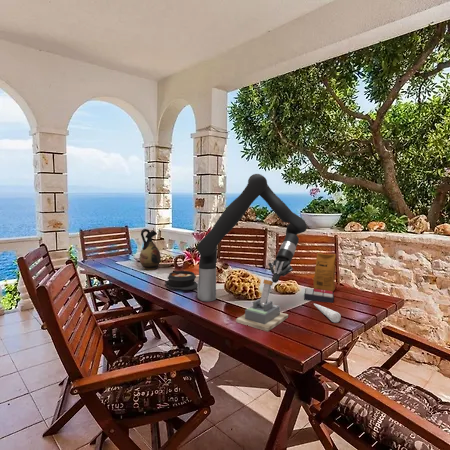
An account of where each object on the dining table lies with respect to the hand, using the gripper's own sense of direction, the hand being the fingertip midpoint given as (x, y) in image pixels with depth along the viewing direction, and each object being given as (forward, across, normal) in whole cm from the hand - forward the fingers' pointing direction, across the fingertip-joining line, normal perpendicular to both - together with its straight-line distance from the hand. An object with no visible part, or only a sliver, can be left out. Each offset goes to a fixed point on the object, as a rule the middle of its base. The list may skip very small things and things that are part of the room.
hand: (274, 281), depth 153 cm
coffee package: (-25, +6, +47) cm, 54 cm away
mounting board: (+18, 0, +4) cm, 18 cm away
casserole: (+9, -64, +14) cm, 66 cm away
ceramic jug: (-4, -115, +26) cm, 118 cm away
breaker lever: (+13, 0, -1) cm, 13 cm away
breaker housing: (+17, 0, +3) cm, 17 cm away
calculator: (-13, +9, +36) cm, 39 cm away
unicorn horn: (+1, +20, +22) cm, 29 cm away
